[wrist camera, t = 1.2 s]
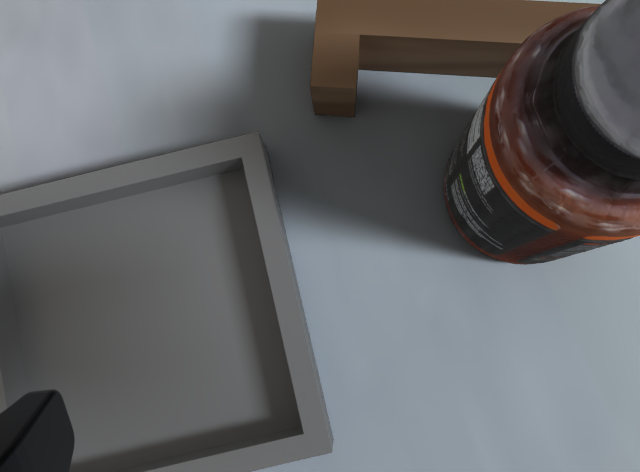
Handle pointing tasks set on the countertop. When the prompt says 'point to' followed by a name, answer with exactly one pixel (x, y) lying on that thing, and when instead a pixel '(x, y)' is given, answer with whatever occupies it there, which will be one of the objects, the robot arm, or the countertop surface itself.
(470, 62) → the wooden dock
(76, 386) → the grey square tray
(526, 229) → the supplement bottle
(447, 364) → the countertop surface
